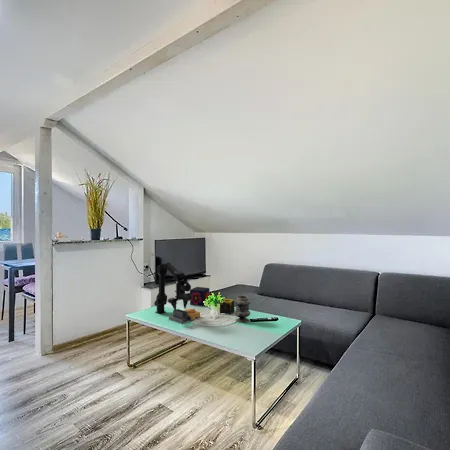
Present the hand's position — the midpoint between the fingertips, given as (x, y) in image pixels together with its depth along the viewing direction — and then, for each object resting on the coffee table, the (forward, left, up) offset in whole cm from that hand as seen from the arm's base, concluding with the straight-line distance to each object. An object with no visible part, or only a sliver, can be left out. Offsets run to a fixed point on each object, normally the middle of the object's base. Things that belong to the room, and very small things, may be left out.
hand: (180, 309), depth 229 cm
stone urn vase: (+37, +30, -8) cm, 48 cm away
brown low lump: (0, +10, -8) cm, 13 cm away
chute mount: (0, 0, -8) cm, 8 cm away
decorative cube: (-23, +42, -8) cm, 49 cm away
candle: (+14, +38, -8) cm, 41 cm away
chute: (0, 0, -7) cm, 7 cm away
